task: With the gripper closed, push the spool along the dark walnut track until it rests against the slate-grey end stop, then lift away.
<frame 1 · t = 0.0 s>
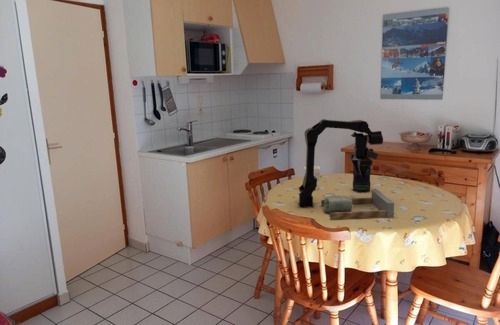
hand: (360, 175, 196), 15 cm above the table, fingers open, 9 cm apart
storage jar: (361, 190, 221), on the table
guide rails: (352, 211, 187), on the table
spool: (338, 212, 187), on the table
end stop: (381, 209, 187), on the table
foam cup: (312, 189, 228), on the table
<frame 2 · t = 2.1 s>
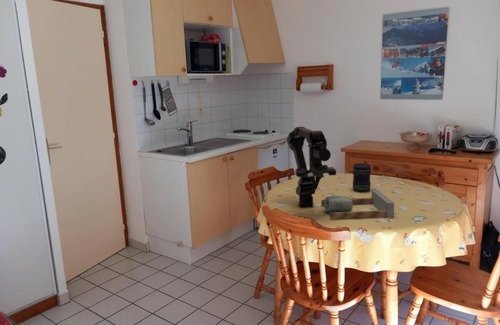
hand: (315, 189, 185), 12 cm above the table, fingers closed
nothing on the table moved.
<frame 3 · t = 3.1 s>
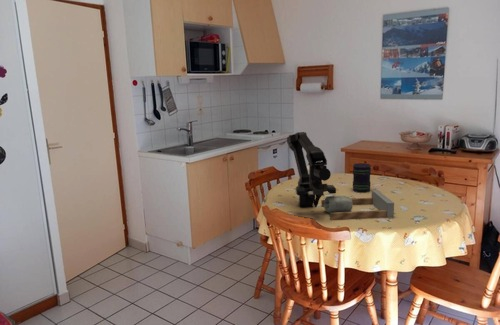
hand: (315, 206, 186), 3 cm above the table, fingers closed
nothing on the table moved.
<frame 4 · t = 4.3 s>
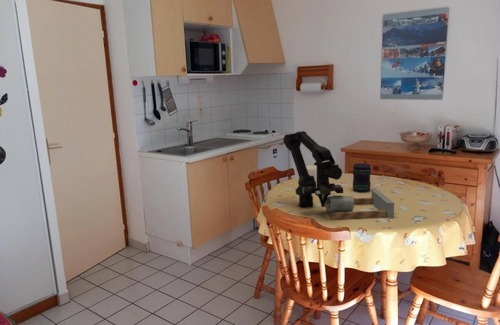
hand: (322, 206, 186), 3 cm above the table, fingers closed
spool: (339, 212, 187), on the table, touching gripper
everything else where it was.
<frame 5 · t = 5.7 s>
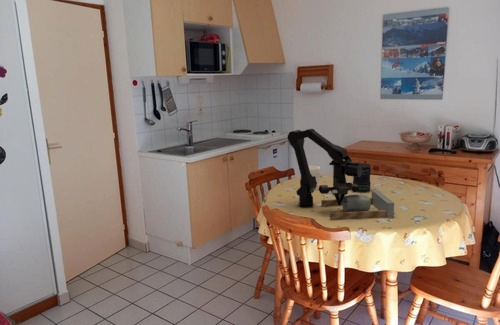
hand: (338, 205, 186), 3 cm above the table, fingers closed
spool: (355, 211, 187), on the table, touching gripper
everything else where it was.
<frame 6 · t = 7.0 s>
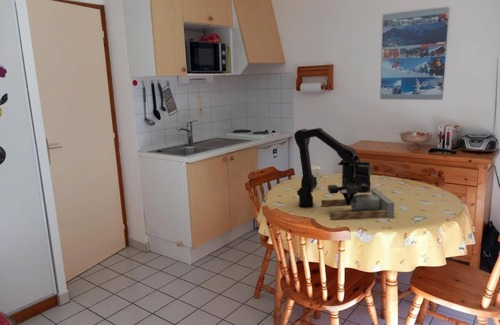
hand: (347, 205, 187), 3 cm above the table, fingers closed
spool: (365, 211, 187), on the table, touching gripper
everything else where it was.
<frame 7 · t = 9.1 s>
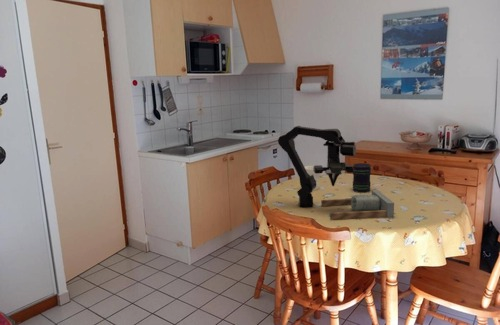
hand: (332, 185, 190), 12 cm above the table, fingers closed
spool: (365, 211, 187), on the table
everything else where it was.
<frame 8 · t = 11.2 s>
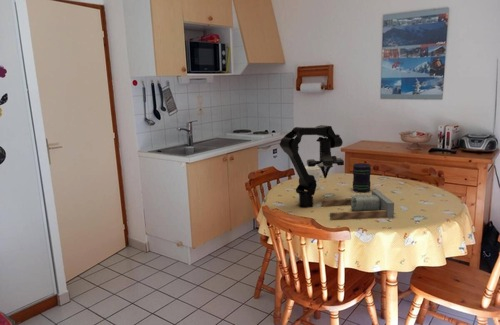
hand: (325, 178, 204), 12 cm above the table, fingers closed
nothing on the table moved.
at the end: spool inside the target area (0.7 cm from its centre), on the table; spool moved 13.2 cm from its start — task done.
